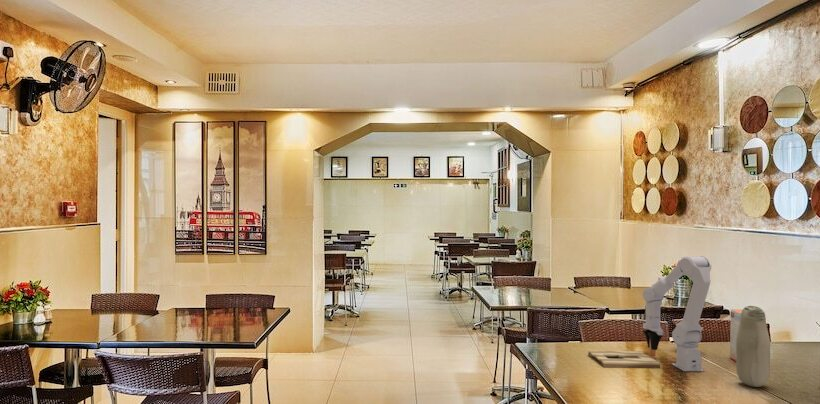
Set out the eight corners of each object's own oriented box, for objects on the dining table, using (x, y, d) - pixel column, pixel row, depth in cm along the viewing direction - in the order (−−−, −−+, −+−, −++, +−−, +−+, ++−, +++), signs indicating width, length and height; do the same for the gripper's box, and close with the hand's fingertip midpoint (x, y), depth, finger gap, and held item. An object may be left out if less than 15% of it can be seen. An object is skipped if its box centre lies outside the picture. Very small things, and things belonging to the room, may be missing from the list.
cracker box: (759, 368, 219) (759, 315, 219) (742, 367, 220) (742, 314, 220) (745, 359, 232) (745, 309, 233) (729, 358, 234) (729, 308, 234)
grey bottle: (774, 391, 190) (775, 309, 190) (742, 388, 192) (742, 307, 192) (762, 382, 199) (763, 304, 200) (731, 380, 202) (732, 303, 202)
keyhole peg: (660, 358, 231) (661, 336, 231) (649, 358, 231) (649, 336, 231) (655, 355, 236) (655, 334, 236) (644, 355, 236) (644, 334, 236)
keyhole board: (660, 368, 216) (660, 362, 216) (604, 367, 216) (604, 362, 216) (639, 356, 234) (639, 351, 234) (588, 355, 234) (588, 350, 234)
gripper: (636, 313, 241) (635, 344, 240) (651, 319, 226) (651, 352, 226) (652, 313, 241) (651, 344, 241) (668, 319, 226) (668, 353, 226)
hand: (652, 348), depth 233 cm, fingers closed on keyhole peg, 2 cm apart
